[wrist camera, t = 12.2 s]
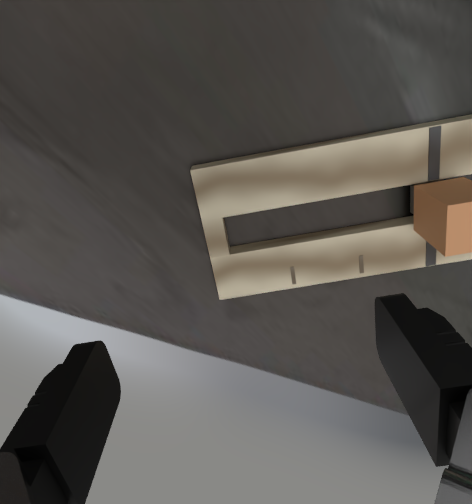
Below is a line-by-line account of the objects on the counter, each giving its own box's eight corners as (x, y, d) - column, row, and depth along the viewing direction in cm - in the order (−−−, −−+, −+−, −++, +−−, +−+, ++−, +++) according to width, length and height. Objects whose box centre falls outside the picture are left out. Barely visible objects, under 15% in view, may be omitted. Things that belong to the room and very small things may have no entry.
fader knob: (402, 178, 38) (447, 205, 30) (448, 170, 37) (506, 195, 30) (402, 220, 40) (445, 256, 32) (446, 212, 39) (500, 247, 31)
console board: (192, 165, 37) (190, 170, 35) (513, 106, 35) (529, 108, 34) (220, 290, 43) (219, 300, 41) (498, 245, 41) (511, 253, 39)
